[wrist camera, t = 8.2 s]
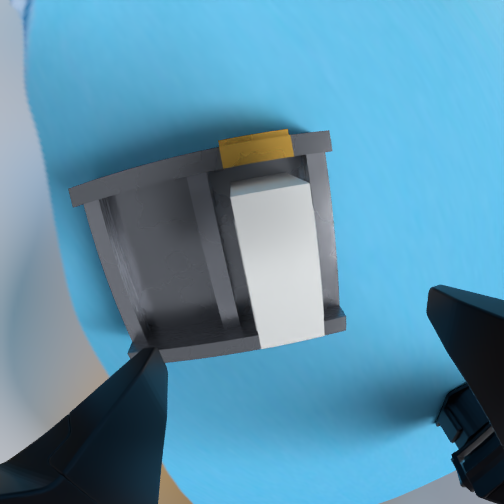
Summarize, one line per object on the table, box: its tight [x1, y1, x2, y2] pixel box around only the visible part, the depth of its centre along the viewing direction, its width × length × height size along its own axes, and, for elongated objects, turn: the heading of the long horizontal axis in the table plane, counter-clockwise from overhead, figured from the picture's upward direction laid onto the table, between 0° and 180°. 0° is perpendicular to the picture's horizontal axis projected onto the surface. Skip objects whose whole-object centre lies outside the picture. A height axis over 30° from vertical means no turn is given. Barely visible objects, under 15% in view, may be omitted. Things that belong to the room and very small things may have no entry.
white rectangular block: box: [230, 173, 325, 349], centre depth 14 cm, size 3×7×5 cm, turn 10°
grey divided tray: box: [68, 129, 346, 363], centre depth 16 cm, size 13×11×3 cm
